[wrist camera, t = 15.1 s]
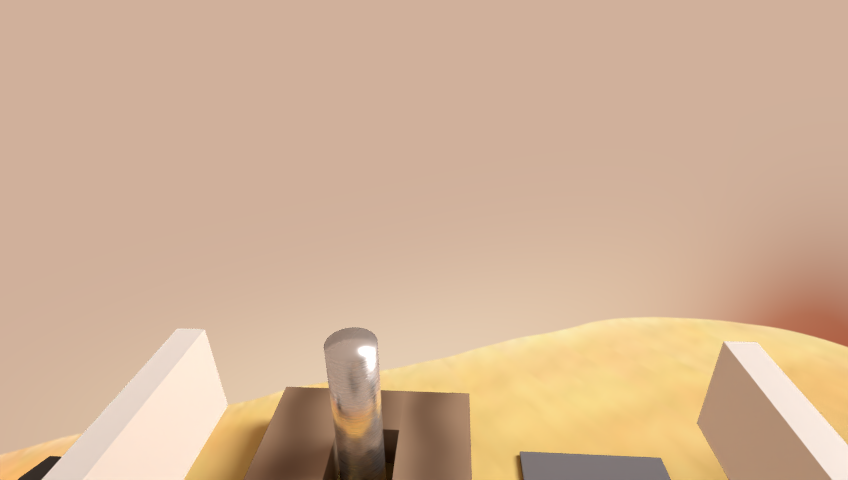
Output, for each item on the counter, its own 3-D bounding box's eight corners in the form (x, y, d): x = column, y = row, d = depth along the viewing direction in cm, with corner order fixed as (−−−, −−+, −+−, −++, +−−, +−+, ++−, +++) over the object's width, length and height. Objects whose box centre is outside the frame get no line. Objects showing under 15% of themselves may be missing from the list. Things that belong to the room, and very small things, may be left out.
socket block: (467, 425, 44) (469, 393, 42) (472, 590, 31) (474, 555, 29) (292, 418, 45) (286, 386, 43) (227, 575, 32) (215, 540, 30)
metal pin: (389, 471, 39) (380, 328, 33) (383, 511, 36) (372, 362, 29) (347, 469, 39) (331, 326, 33) (338, 509, 36) (317, 360, 30)
